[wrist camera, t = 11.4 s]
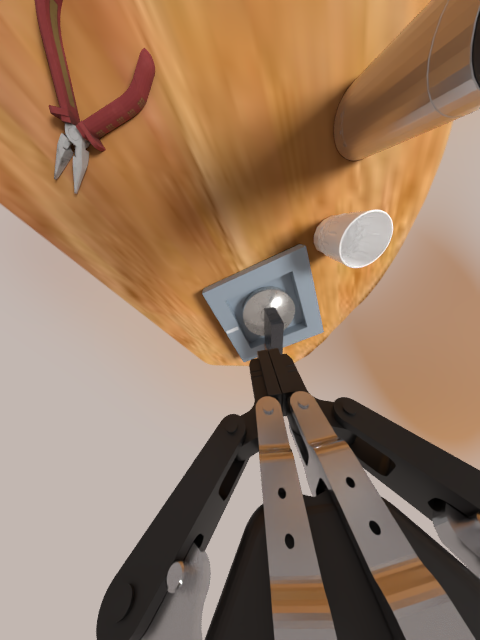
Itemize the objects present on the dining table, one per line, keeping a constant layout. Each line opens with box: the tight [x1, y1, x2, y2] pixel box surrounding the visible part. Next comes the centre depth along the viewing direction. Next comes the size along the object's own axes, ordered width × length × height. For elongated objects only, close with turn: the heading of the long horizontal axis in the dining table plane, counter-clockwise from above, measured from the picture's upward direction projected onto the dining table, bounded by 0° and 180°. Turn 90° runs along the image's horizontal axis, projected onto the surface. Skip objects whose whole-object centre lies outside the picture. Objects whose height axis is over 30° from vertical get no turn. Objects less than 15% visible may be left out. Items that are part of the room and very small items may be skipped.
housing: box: [202, 244, 324, 362], centre depth 40 cm, size 22×22×3 cm
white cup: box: [314, 210, 393, 268], centre depth 29 cm, size 8×8×10 cm
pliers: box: [35, 0, 155, 194], centre depth 22 cm, size 11×20×3 cm, turn 142°
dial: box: [242, 286, 295, 355], centre depth 38 cm, size 16×12×9 cm
